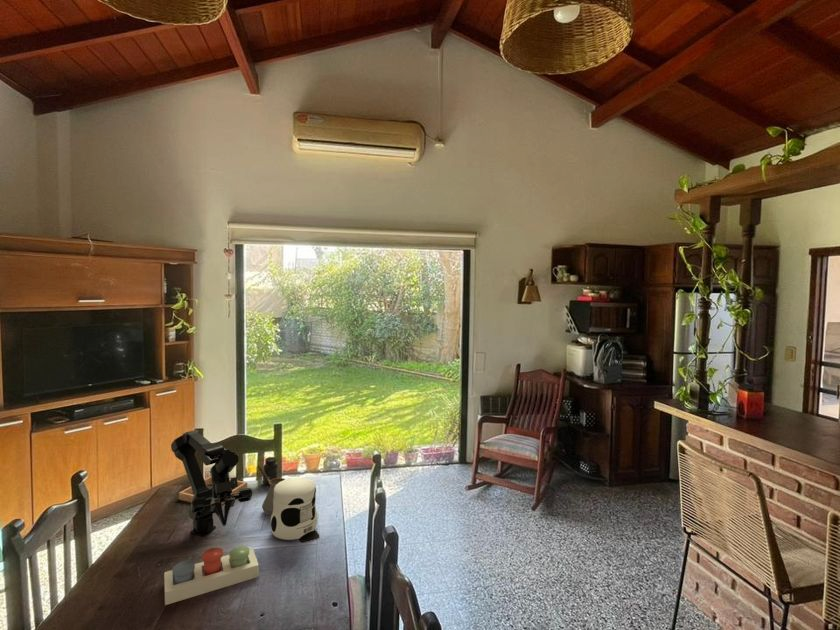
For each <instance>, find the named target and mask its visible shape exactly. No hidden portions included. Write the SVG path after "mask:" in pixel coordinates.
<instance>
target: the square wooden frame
mask: <svg viewBox="0 0 840 630" xmlns="http://www.w3.org/2000/svg"><path fill="white" fill-rule="evenodd" d="M229 480H230V481H231V478H229ZM204 481H205V483H206V484H209V485H212V480H211V475H210V476H209V477H206V478H204ZM237 484H238V486H237V487H234V488H232V493H231V495H232V494H237V493H239V490H240V489H245V488H248V482H247V481H242V480H238V479H237ZM206 486H207V487H208V485H206ZM193 496H194V493H193V490H192V488H191V486H189V487H187V488H185V489H183V490H181V491H179V492H178V500H179V501H182V502H183V501H184V502H188V503H191V504H192V500H193ZM221 504H222V505H223V504H224V505H225V502H222V503H221Z"/></svg>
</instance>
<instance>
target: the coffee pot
mask: <svg viewBox="0 0 840 630" xmlns="http://www.w3.org/2000/svg"><path fill="white" fill-rule="evenodd" d="M255 470H257V471H259V472H261V475H262V477H263V476H264V477H265V478H266V479H267V480H268V482H269V484H270V486H269V489H268V491H267V494H266V496H265V498H264V500H263V503H262V506H261V508H262V510H263V512H264V513H265V514H267V515H268V516H271V517H272V513H273V498H274V497H273V493H274V488H275V486H276V484H278V483H279V482H281V481H283V480H286V479H285V478H282V477H278V478H275V479H272V480H269V478H268V477H267V475H266V473H265V472H264V471H263V467H261V466H260V465H258V466H257V468H255Z"/></svg>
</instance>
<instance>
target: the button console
mask: <svg viewBox="0 0 840 630" xmlns="http://www.w3.org/2000/svg"><path fill="white" fill-rule="evenodd" d="M231 560H232V559H230V554H227V555H223V556H222V557H221V571H220V572H218V573H215V574H211V575H208V576H205V575H204V561H202V562H198V563H195V568H194V570H193V571H192V580H190V581H187V582H183V583H180V584H176V585H175V576H174V575H173V574H172V569H170V570H168V571H164V575H163V576H164V585H163V586H164V587H163V588H164V606H167V605H171V604H173V603H176V602H180V601H183V600H186V599H191V598H193V597H197V596H201V595H203V594H206V593H209V592H213V591H216V590H219V589H223V588H226V587H230V586H233V585H235V584H239V583H243V582H245V581H250V580H253V579H256V578H259V576H260V575H259V574H260V573H259V572H260V571H259V570H260V569H259V562H258V559H257V556H256V554H255V550H254V548H249V555H248V556H247V564H246V565H242V566H239V567H236V568H232V569H231Z"/></svg>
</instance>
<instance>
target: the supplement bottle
mask: <svg viewBox="0 0 840 630" xmlns="http://www.w3.org/2000/svg"><path fill="white" fill-rule="evenodd" d="M264 461H265V462H264V464H263V466H262V470H263V471H264V472H265V473H266V475H267V477H268V478H269V480H272V479H275V478H279V477H278V476H279V464H278V463H277V457H274V456H268V457H266V458H265V460H264ZM262 485H263V486H264V487H271V486H270V484H269V482H268V480H267V479H266V478H265V477H264V476H263V475H262Z"/></svg>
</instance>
